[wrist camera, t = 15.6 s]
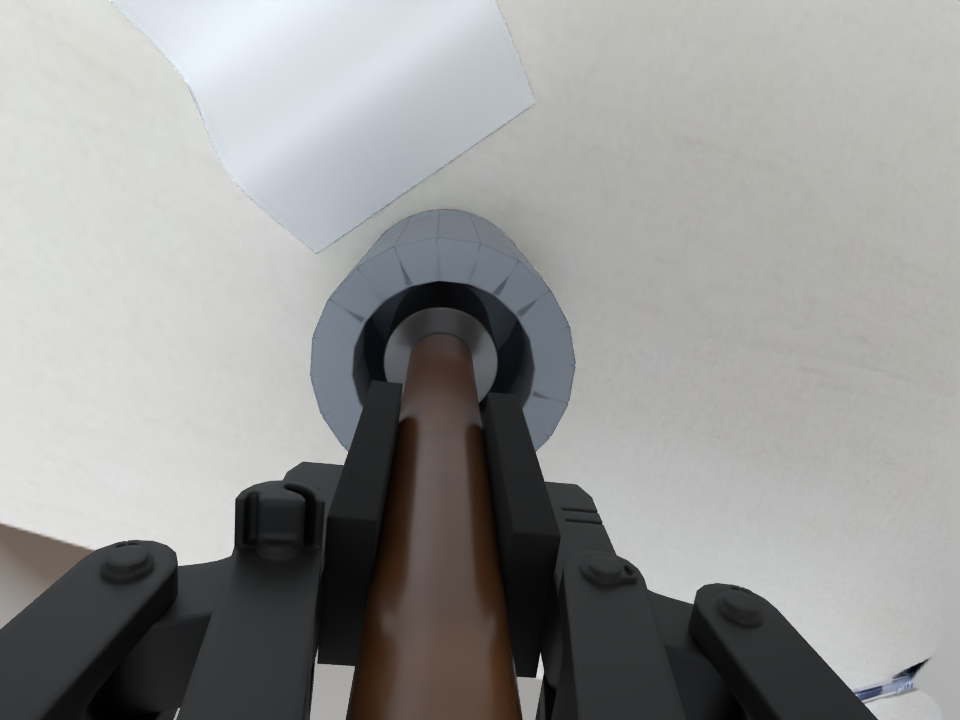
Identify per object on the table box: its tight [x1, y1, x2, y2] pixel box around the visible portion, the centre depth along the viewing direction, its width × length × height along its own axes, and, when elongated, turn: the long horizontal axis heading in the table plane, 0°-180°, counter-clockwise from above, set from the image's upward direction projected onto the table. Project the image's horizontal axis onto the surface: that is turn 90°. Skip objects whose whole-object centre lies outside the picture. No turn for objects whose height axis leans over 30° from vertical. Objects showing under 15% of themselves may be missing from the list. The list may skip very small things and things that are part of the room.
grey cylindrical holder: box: [310, 209, 575, 452], centre depth 29 cm, size 9×9×13 cm
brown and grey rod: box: [346, 281, 522, 720], centre depth 17 cm, size 4×4×22 cm
